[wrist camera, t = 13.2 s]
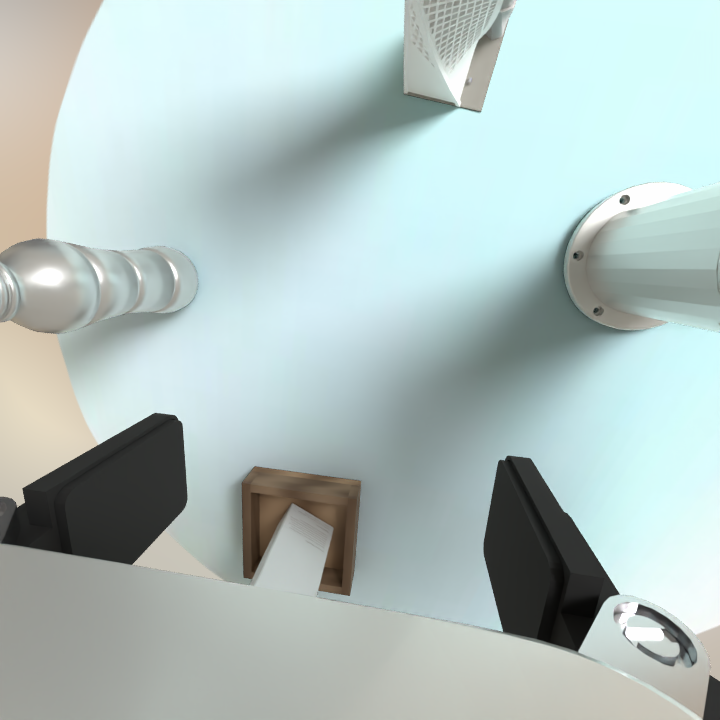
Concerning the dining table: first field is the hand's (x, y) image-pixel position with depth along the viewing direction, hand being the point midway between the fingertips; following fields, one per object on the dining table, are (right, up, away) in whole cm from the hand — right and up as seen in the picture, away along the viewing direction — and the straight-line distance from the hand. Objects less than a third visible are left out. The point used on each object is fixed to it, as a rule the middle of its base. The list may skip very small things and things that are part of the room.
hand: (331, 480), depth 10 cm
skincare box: (-6, -16, +33) cm, 38 cm away
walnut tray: (-6, -16, +34) cm, 39 cm away
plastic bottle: (-19, +12, +29) cm, 37 cm away
